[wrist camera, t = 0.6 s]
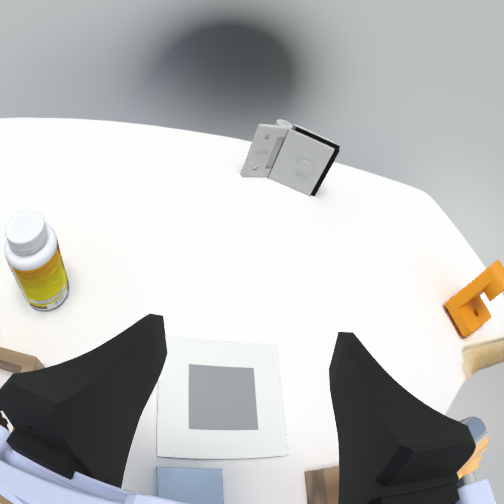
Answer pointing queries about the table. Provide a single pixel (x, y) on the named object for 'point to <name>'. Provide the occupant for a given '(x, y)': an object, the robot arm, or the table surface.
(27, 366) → the plank frame
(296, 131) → the hinge
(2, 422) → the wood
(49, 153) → the table surface
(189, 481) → the blue block
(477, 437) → the vise
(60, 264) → the supplement bottle
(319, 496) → the walnut block
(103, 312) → the table surface
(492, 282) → the bracket
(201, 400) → the board
